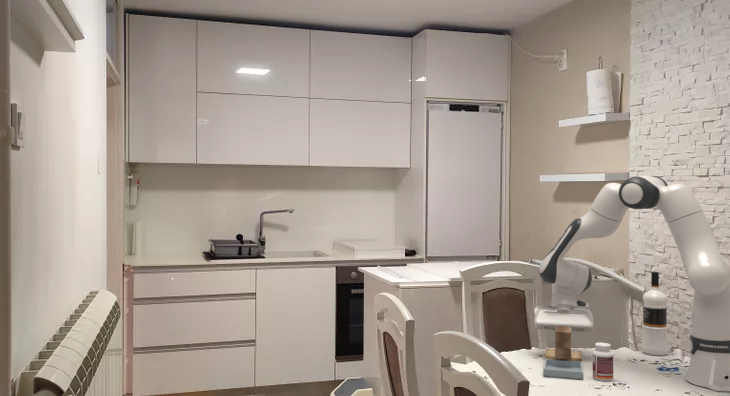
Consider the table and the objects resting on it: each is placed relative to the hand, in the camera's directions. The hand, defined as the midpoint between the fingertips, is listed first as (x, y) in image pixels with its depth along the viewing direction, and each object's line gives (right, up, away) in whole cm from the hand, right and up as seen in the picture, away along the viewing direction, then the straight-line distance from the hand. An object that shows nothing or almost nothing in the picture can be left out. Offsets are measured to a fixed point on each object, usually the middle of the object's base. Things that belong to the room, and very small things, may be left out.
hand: (563, 339), depth 220 cm
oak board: (-1, -8, -2) cm, 8 cm away
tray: (-4, -8, -13) cm, 16 cm away
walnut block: (-2, -4, -5) cm, 7 cm away
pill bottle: (+6, -8, -20) cm, 22 cm away
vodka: (+37, -8, +12) cm, 40 cm away
